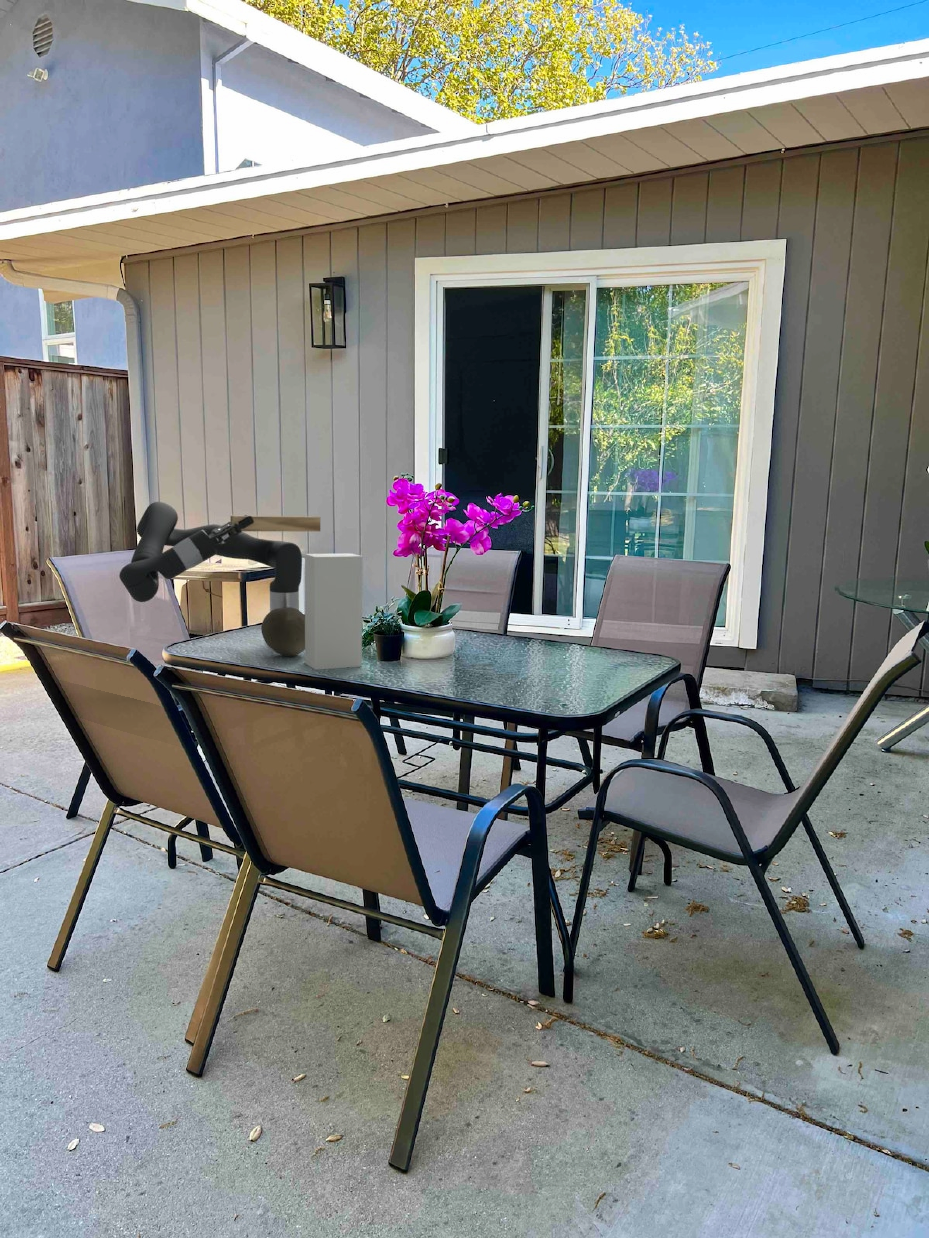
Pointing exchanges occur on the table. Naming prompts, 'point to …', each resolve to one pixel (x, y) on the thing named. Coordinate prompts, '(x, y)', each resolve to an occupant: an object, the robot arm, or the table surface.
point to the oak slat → (280, 523)
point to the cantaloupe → (284, 631)
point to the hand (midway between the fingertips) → (250, 518)
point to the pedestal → (333, 610)
